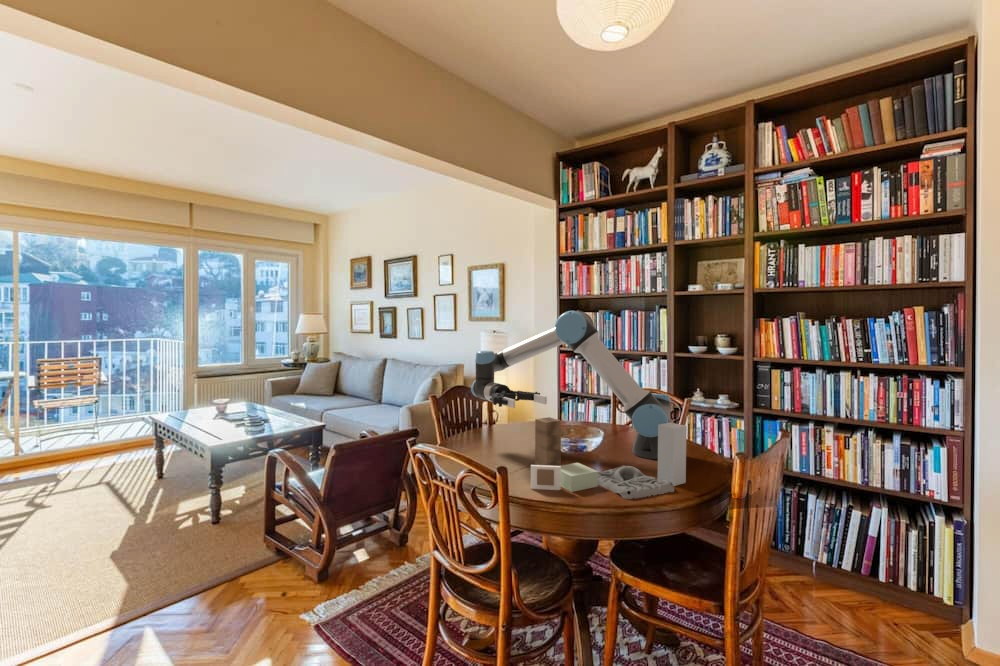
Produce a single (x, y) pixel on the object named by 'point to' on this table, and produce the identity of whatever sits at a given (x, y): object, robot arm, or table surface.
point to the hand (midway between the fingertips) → (530, 402)
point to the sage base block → (578, 477)
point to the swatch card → (545, 477)
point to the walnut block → (548, 442)
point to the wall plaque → (632, 483)
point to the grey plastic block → (672, 453)
